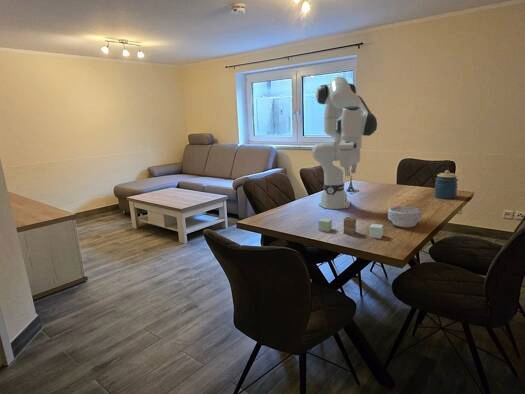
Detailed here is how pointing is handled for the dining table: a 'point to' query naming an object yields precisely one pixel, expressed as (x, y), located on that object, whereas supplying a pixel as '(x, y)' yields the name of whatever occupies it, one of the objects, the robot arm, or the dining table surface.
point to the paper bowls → (404, 216)
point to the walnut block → (349, 225)
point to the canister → (446, 185)
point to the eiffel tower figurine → (351, 188)
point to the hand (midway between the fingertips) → (350, 174)
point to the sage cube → (325, 224)
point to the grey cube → (376, 231)
